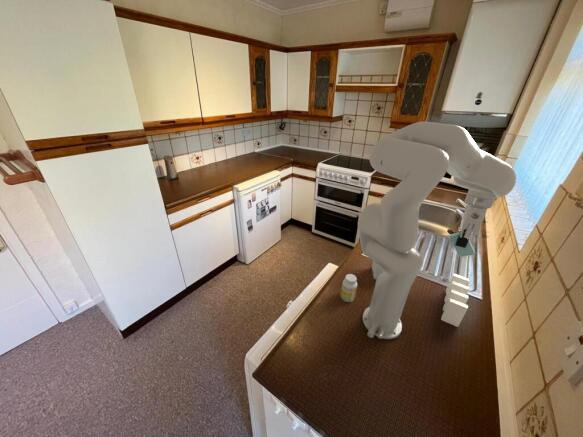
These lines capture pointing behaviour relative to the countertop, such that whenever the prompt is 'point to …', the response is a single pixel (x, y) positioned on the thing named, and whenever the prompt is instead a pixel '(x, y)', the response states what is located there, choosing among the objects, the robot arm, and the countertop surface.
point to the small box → (377, 270)
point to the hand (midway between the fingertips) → (460, 244)
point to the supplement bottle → (349, 288)
